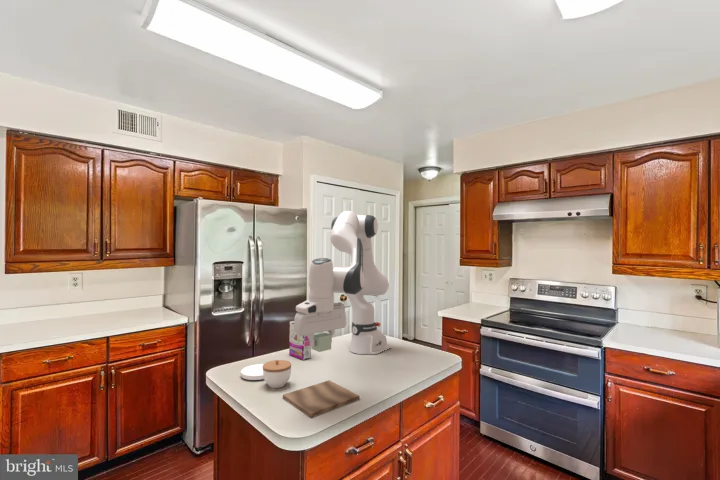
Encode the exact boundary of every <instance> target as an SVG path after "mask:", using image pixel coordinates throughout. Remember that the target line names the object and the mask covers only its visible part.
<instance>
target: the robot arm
mask: <svg viewBox="0 0 720 480" xmlns="http://www.w3.org/2000/svg"><path fill="white" fill-rule="evenodd" d="M331 221H332V222H331V226H330V228H331V232H330V235H329V236H330V238H329V239H330V242H331V244H332V246H333V247H334V248H335V249H336V250H338V251H339V252H343V253H345V254H348V255H350V256H349V257H350V262H351V265H350V266H334V263H333V260H332V259H331V258H327V257H319V258H315V259H313V260H311V262H310V265H309V272H308V273H309V274H308V287H309V294H308V299H307V300H304V301H303V302H300V303H299V304H297V305H296V306H295V311H296V313H295V315H294V320H293V321H294V333H295V334H296V335H298V336H305V335H307V336H308V338H309V340H310V345H311V346H312V347H314V346H317V344H316V343H317V341H315V340H314V339H313V337H314V334H316V333H321V332H324V333H326V332H328V334H330V335H331V343H332V342H333V337H334V334H335V332H336V330H339V329H344V328H346V326H347V317H346V306H345V304H344V303H343V302H341V301H339V302H335V294H334V293H336V294H337V293H338V294H344V295H345V296H346V297H347V298H348V300H349V302H350V305H351V309H352V322H351V332H352V333H351V341H350V346H349V352H351V353H354V354H359V355H378V354H380V352H381V353H383V352H385V351H387V349H388V350H390V349H392V345H391V344H389V343H388V341H387V336H386V334H384V333H383V332H381V331H380V330H379V329H378V327H379V328H380V326H381V322H377V321H375V307H374V305H373V304H371V303H370V302H369V301H367V300H366V298H365V297H364V296H374V297H375V296H376V297H377V296H383V295H385V294H387V291H388V290H389V287H390V286H389V280H388V278H387V277H386V276H385V275H384V274H383V273H382V272H380V270H379V269H378V268H377V266H376V263H375V262H374V255H373V246H372V238H373V237H375V236H376V235H377V232H378V228H379V224H378V220H377V218H376V217H375V216H374V215H373V214H372V215H371V214H367V215H365V214H364V215H363V214H356V213H355V212H354V211H351V210H344V211H342V212H340V214H339V215H338V216H336V217H334V219H332V220H331ZM389 348H390V349H389ZM384 350H385V351H384ZM382 351H383V352H382Z"/></svg>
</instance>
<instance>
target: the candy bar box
mask: <svg viewBox="0 0 720 480" xmlns="http://www.w3.org/2000/svg"><path fill="white" fill-rule="evenodd" d="M288 337H289V340H288V341H289V345H288V347H289V348H288V349H289V350H288V351H289V353H288V355H289V356H290V357H293V358H295V359H298V360H301V361H305V360H309V359H311V358H312V354H311V353H312V352H311V351H312V349H311V345H310V340H309V338H308V336H307V335H305V336H298V335H296V334H295V333H294V320H292V321H289V336H288Z"/></svg>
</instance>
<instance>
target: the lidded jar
mask: <svg viewBox="0 0 720 480" xmlns="http://www.w3.org/2000/svg"><path fill="white" fill-rule="evenodd" d="M263 364H264V365H263V377H264V379H263V381H264V382H265V383H266V385H268V387H269V388H271V389H278V388H279V389H280V388H282V387H284V386H285V385H286V384H287V382H289V380H290V377H291V372H292V363H291V361H288V360H286V359H285V360H283V359H276V360H271V361H270V360H269V361H266V362H265V363H263Z"/></svg>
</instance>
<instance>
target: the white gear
mask: <svg viewBox="0 0 720 480" xmlns="http://www.w3.org/2000/svg"><path fill="white" fill-rule="evenodd" d="M264 364H265V363H257V364H250V365H247V366H245V367H243V368H242V369H241V370H240V377H241V378H242V379H244V380H248V381H259V380H260V381H261V380H264V377H263V365H264Z"/></svg>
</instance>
